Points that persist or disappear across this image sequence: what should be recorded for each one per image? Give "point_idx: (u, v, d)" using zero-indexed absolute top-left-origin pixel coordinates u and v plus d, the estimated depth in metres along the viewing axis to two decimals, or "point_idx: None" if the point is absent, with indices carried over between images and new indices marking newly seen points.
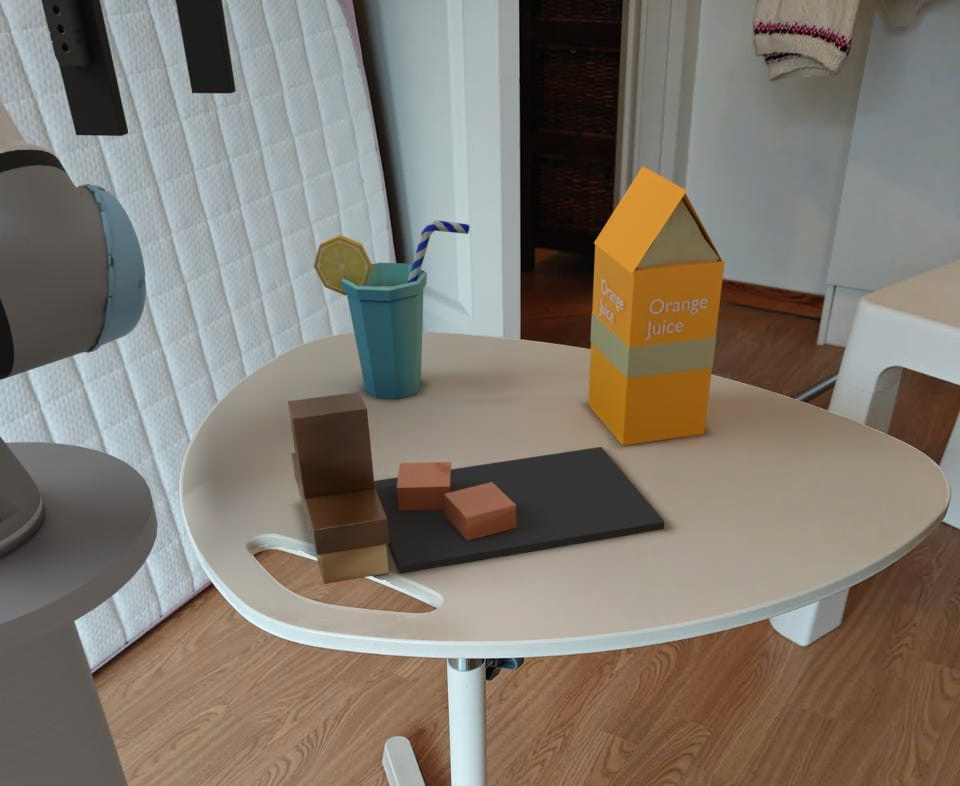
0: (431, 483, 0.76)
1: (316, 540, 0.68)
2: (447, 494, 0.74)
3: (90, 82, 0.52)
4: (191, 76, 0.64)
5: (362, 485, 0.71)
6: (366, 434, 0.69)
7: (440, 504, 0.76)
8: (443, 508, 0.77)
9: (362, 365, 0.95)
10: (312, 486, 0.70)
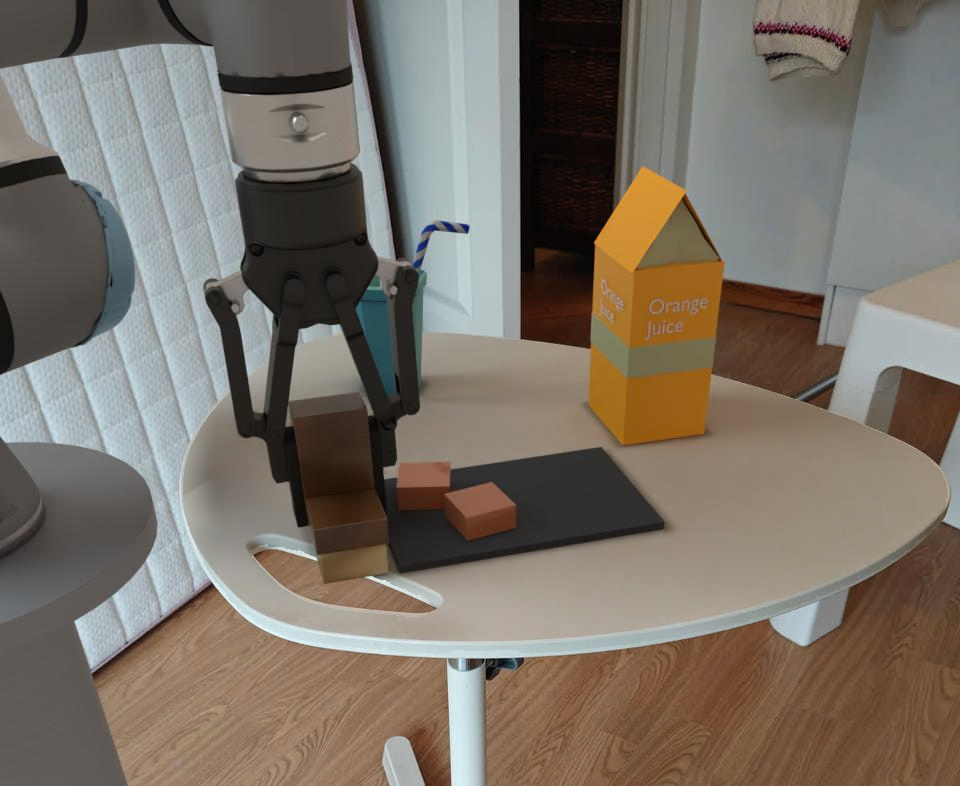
0: (431, 483, 0.76)
1: (316, 540, 0.68)
2: (447, 494, 0.74)
3: (291, 489, 0.71)
4: None
5: (362, 485, 0.71)
6: (366, 434, 0.69)
7: (440, 504, 0.76)
8: (443, 508, 0.77)
9: None
10: (312, 486, 0.70)
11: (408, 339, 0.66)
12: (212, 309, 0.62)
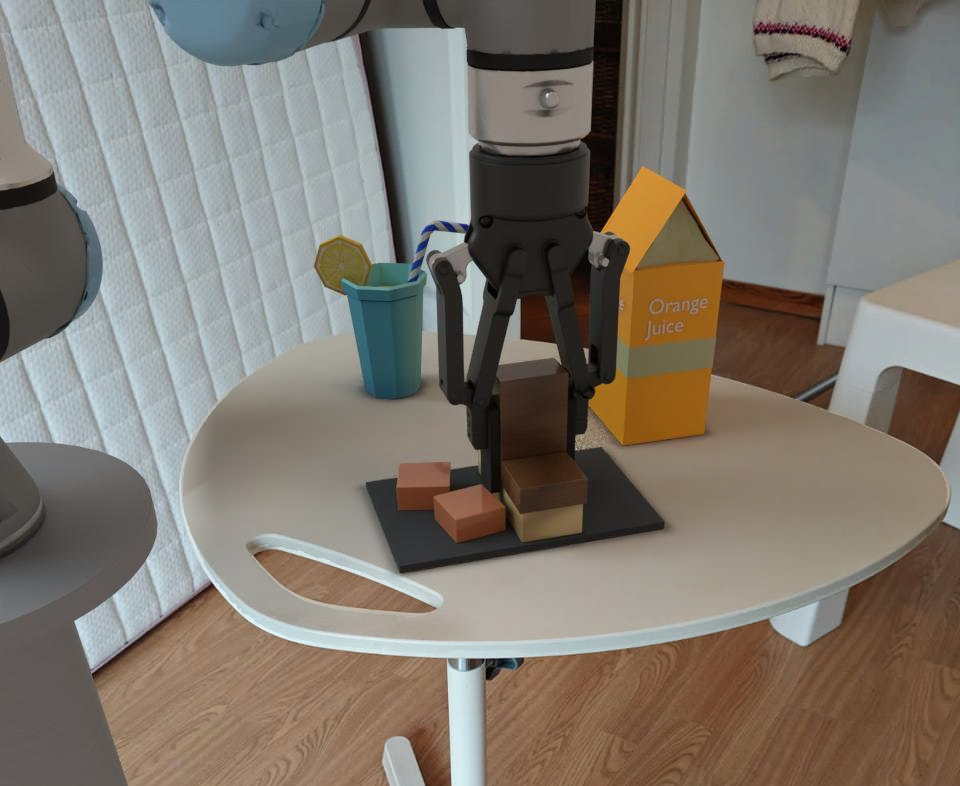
0: (431, 483, 0.76)
1: (521, 499, 0.70)
2: (436, 496, 0.74)
3: (486, 456, 0.74)
4: None
5: (555, 448, 0.74)
6: (565, 398, 0.72)
7: None
8: None
9: (362, 365, 0.95)
10: (509, 448, 0.73)
11: (613, 310, 0.69)
12: (440, 279, 0.65)
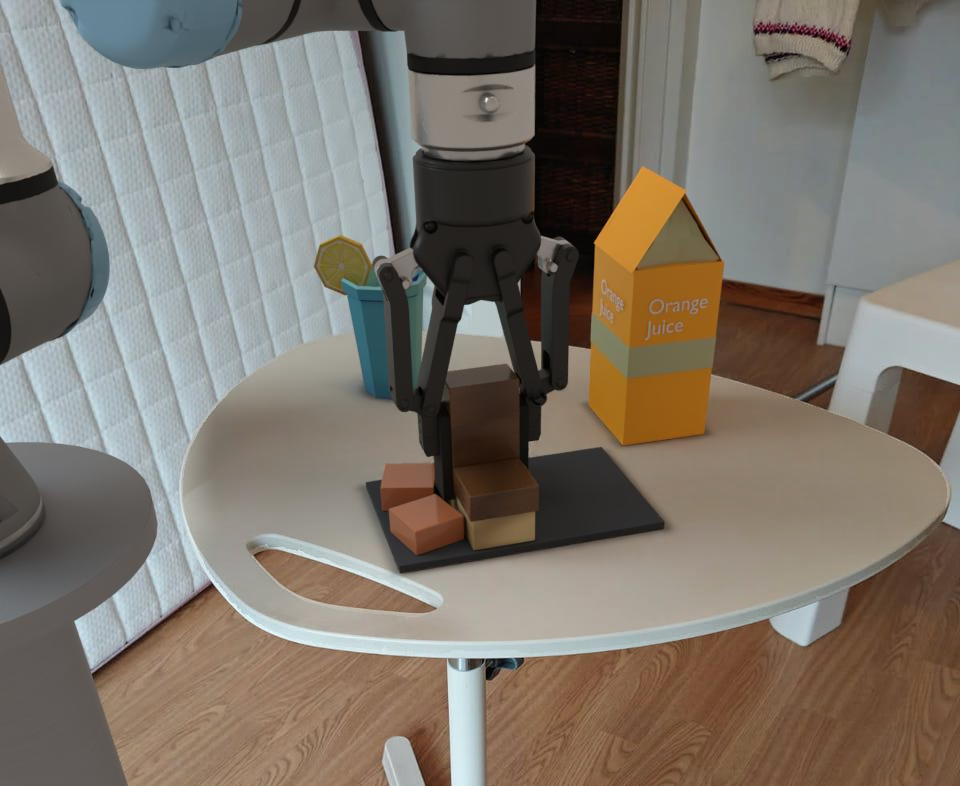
0: (415, 484, 0.76)
1: (471, 507, 0.69)
2: (392, 509, 0.73)
3: (438, 463, 0.73)
4: None
5: (508, 455, 0.73)
6: (516, 404, 0.71)
7: None
8: None
9: (362, 365, 0.95)
10: (461, 455, 0.72)
11: (563, 316, 0.68)
12: (384, 285, 0.64)
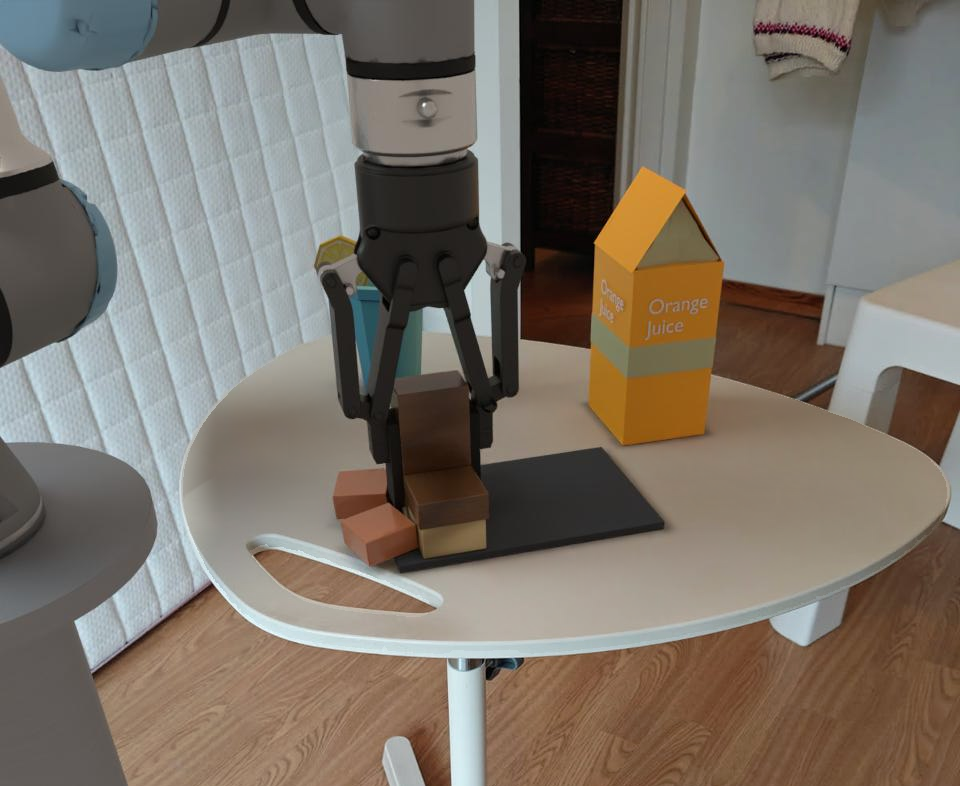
0: (368, 490, 0.75)
1: (420, 515, 0.69)
2: (344, 520, 0.72)
3: (389, 470, 0.73)
4: None
5: (459, 462, 0.72)
6: (466, 411, 0.70)
7: None
8: None
9: (362, 365, 0.95)
10: (411, 463, 0.71)
11: (512, 322, 0.68)
12: (328, 292, 0.63)
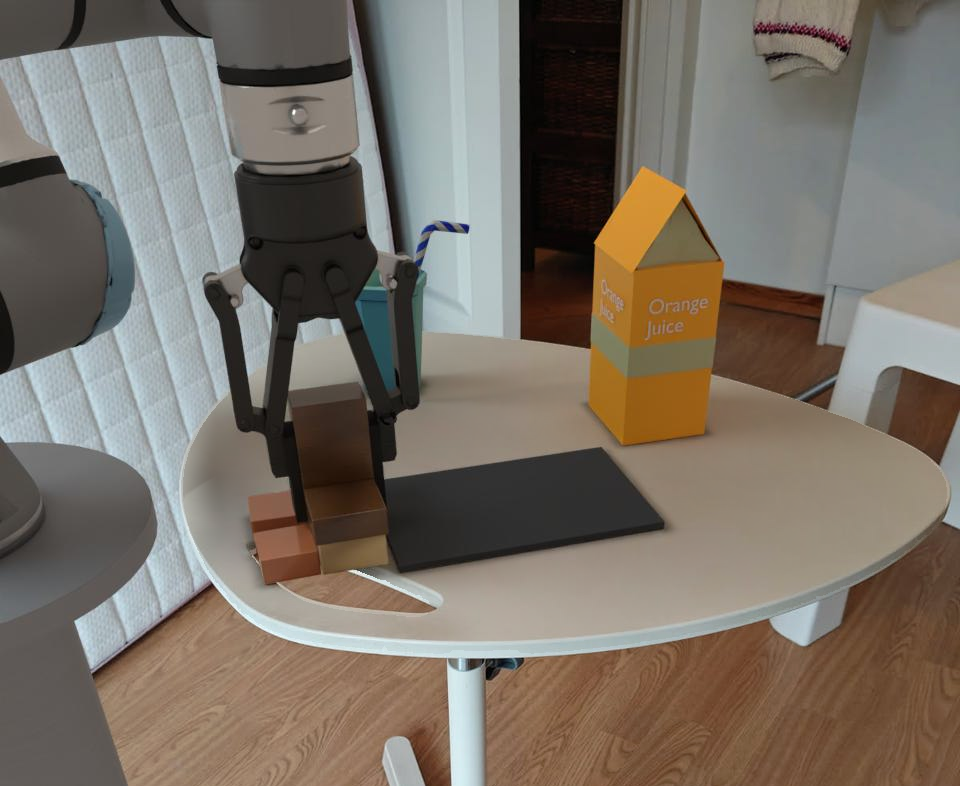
0: (286, 513, 0.74)
1: (315, 530, 0.67)
2: (256, 533, 0.72)
3: (290, 484, 0.71)
4: None
5: (361, 475, 0.71)
6: (365, 424, 0.69)
7: None
8: None
9: None
10: (311, 476, 0.70)
11: (408, 333, 0.66)
12: (211, 303, 0.62)
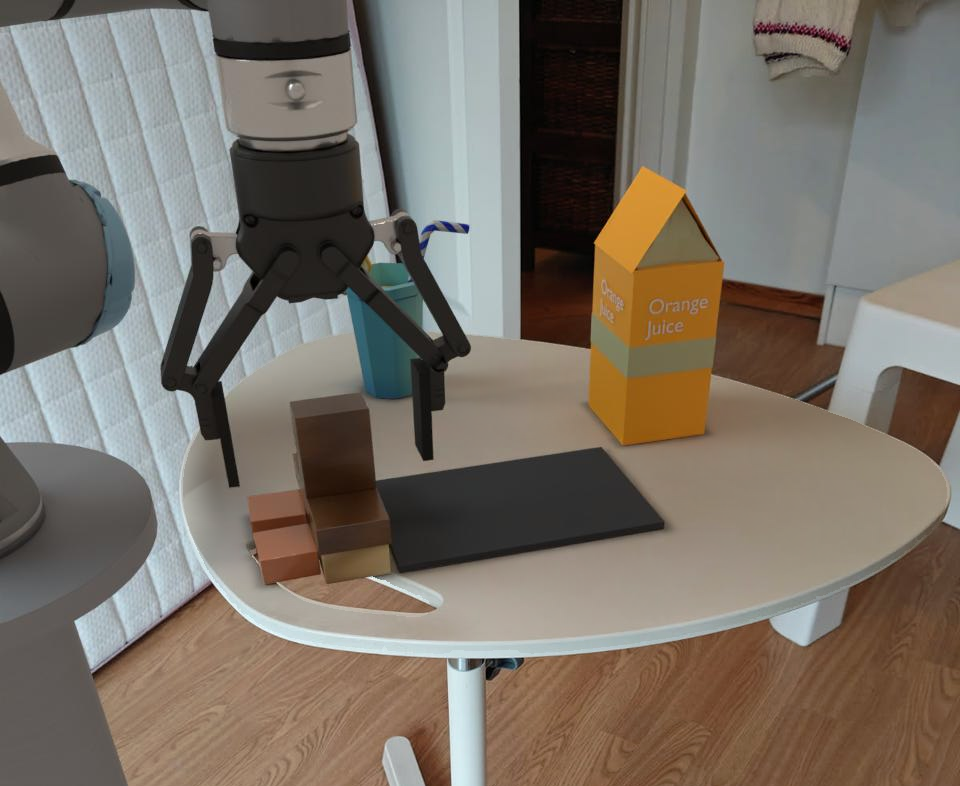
0: (285, 513, 0.74)
1: (319, 540, 0.68)
2: (255, 533, 0.72)
3: None
4: (414, 433, 0.73)
5: (364, 485, 0.71)
6: (368, 434, 0.69)
7: None
8: None
9: (362, 365, 0.95)
10: (314, 486, 0.70)
11: (431, 287, 0.65)
12: (194, 254, 0.60)
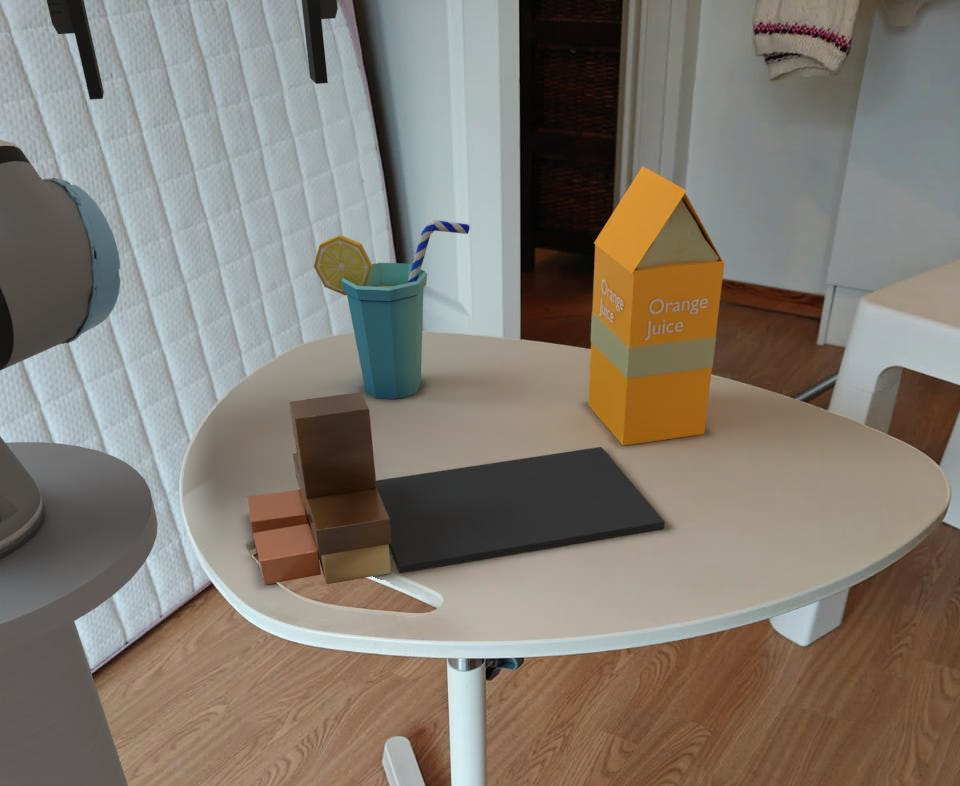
0: (286, 513, 0.74)
1: (319, 540, 0.68)
2: (255, 533, 0.72)
3: None
4: (308, 61, 0.65)
5: (364, 485, 0.71)
6: (368, 434, 0.69)
7: None
8: None
9: (362, 365, 0.95)
10: (314, 486, 0.70)
11: None
12: None
